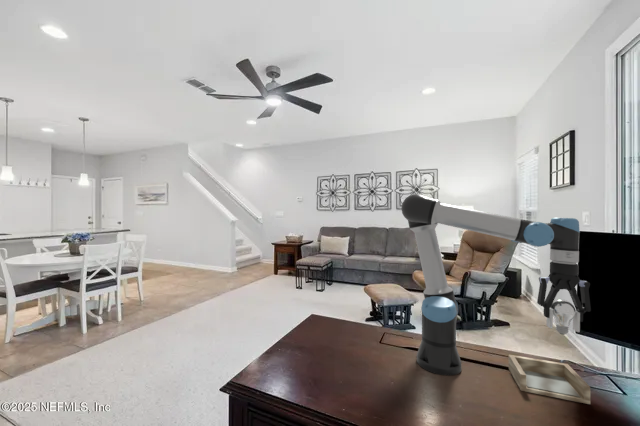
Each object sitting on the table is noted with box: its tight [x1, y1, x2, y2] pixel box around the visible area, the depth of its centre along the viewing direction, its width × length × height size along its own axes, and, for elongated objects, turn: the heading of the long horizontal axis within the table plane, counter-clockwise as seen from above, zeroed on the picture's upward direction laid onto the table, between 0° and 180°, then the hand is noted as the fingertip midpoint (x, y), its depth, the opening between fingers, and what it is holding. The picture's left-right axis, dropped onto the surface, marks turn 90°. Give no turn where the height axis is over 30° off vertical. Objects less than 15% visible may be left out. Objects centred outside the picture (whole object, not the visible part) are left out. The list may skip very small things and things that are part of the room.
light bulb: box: [550, 298, 577, 335], centre depth 96 cm, size 7×7×12 cm
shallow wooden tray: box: [508, 354, 591, 405], centre depth 90 cm, size 17×14×5 cm
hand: (562, 328), depth 95 cm, fingers closed on light bulb, 7 cm apart
